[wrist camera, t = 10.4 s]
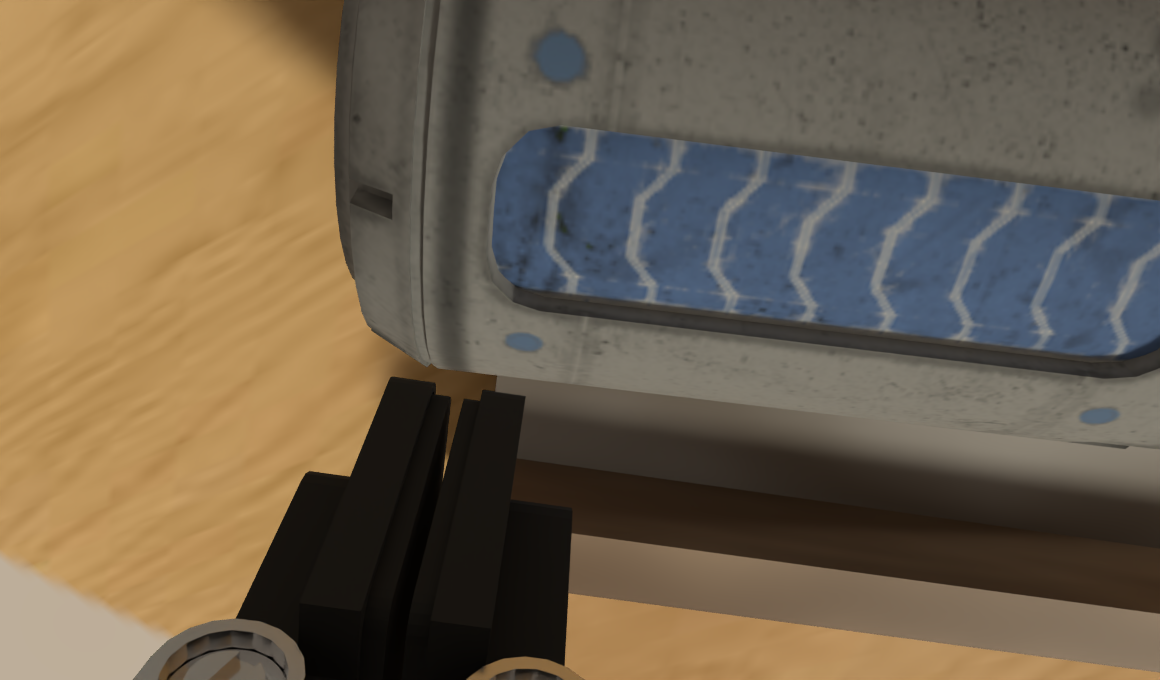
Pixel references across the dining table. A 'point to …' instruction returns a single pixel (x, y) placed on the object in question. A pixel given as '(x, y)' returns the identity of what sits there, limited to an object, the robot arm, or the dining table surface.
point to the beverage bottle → (768, 202)
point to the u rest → (851, 521)
